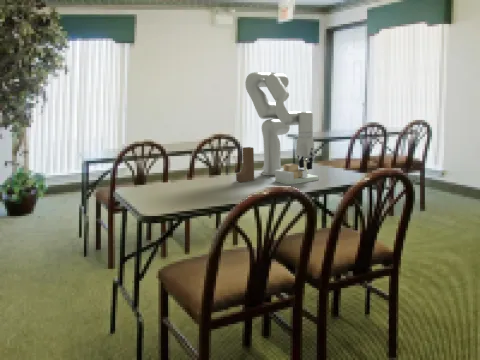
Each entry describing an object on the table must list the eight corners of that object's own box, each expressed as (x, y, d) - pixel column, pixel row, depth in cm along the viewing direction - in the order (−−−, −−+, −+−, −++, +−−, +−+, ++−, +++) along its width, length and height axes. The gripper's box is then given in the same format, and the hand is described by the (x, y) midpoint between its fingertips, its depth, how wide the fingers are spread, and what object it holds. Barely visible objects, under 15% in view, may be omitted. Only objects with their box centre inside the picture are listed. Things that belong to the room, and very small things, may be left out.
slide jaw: (288, 175, 265) (288, 159, 264) (300, 173, 270) (300, 157, 268) (302, 178, 255) (302, 161, 254) (315, 176, 260) (315, 159, 258)
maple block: (283, 177, 259) (283, 164, 258) (292, 176, 262) (292, 163, 261) (289, 179, 255) (289, 165, 254) (298, 177, 258) (298, 164, 257)
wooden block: (240, 182, 260) (239, 149, 257) (236, 181, 264) (235, 148, 260) (254, 180, 264) (253, 147, 261) (250, 179, 268) (249, 146, 265)
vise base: (275, 181, 261) (275, 170, 260) (304, 176, 271) (304, 166, 270) (289, 184, 251) (289, 173, 250) (318, 179, 261) (318, 168, 260)
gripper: (289, 134, 265) (290, 167, 269) (310, 136, 251) (310, 171, 254) (300, 133, 269) (300, 165, 272) (321, 135, 255) (321, 169, 258)
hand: (305, 168), depth 263 cm, fingers open, 5 cm apart
